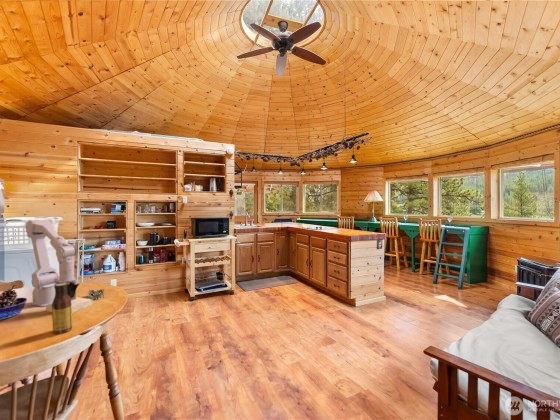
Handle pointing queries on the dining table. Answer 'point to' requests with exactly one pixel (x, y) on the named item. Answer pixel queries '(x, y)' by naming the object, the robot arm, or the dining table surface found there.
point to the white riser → (75, 304)
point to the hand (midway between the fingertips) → (67, 297)
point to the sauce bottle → (61, 310)
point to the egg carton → (96, 294)
